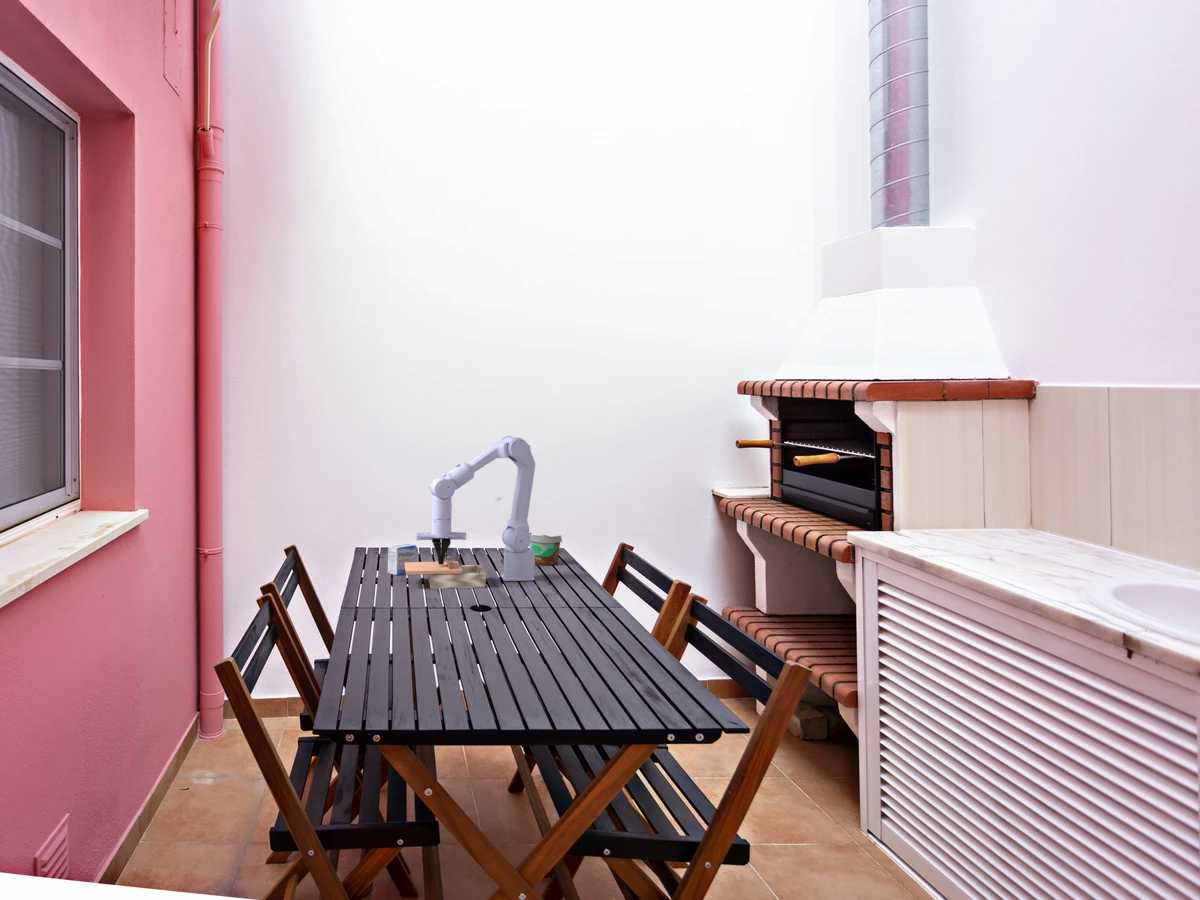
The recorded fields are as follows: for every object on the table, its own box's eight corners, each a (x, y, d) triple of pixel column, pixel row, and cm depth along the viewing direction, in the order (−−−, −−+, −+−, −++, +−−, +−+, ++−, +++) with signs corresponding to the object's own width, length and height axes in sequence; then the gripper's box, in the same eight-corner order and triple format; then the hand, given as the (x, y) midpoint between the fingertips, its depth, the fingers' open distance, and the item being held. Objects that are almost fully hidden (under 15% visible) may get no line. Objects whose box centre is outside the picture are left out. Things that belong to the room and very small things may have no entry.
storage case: (480, 577, 272) (480, 565, 272) (485, 587, 259) (485, 574, 259) (427, 579, 268) (428, 566, 268) (430, 588, 255) (430, 575, 255)
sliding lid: (457, 564, 270) (458, 554, 270) (461, 573, 257) (462, 563, 257) (404, 565, 266) (404, 555, 266) (406, 574, 253) (406, 564, 253)
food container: (520, 564, 295) (521, 534, 295) (528, 561, 301) (529, 532, 300) (553, 568, 291) (554, 538, 290) (561, 564, 296) (562, 535, 296)
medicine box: (396, 575, 271) (397, 548, 271) (387, 573, 274) (387, 546, 273) (416, 572, 278) (416, 545, 277) (406, 570, 280) (407, 543, 280)
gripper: (464, 516, 267) (464, 560, 268) (416, 516, 263) (415, 561, 264) (467, 520, 260) (466, 565, 261) (417, 520, 256) (416, 566, 257)
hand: (440, 563), depth 262 cm, fingers closed
